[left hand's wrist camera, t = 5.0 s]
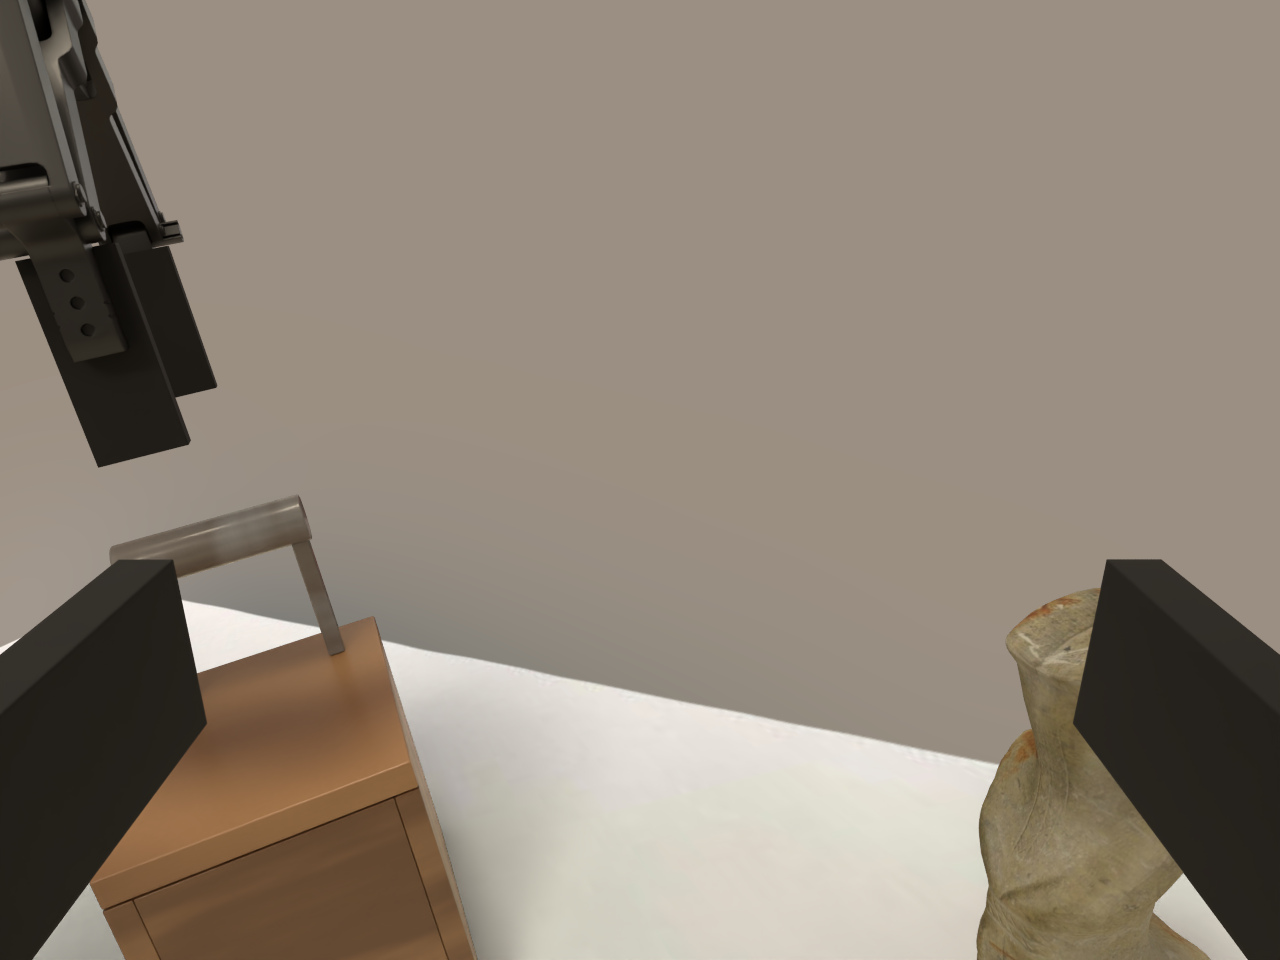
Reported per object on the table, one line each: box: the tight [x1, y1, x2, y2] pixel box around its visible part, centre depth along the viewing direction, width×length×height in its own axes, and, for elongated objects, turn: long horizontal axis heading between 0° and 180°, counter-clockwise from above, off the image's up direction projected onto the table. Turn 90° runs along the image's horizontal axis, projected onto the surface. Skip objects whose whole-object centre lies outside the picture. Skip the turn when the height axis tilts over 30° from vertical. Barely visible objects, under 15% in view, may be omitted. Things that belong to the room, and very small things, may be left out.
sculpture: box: [977, 588, 1210, 960], centre depth 27 cm, size 6×7×15 cm
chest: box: [103, 644, 477, 960], centre depth 37 cm, size 13×10×11 cm
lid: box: [90, 495, 418, 909], centre depth 34 cm, size 14×10×8 cm
